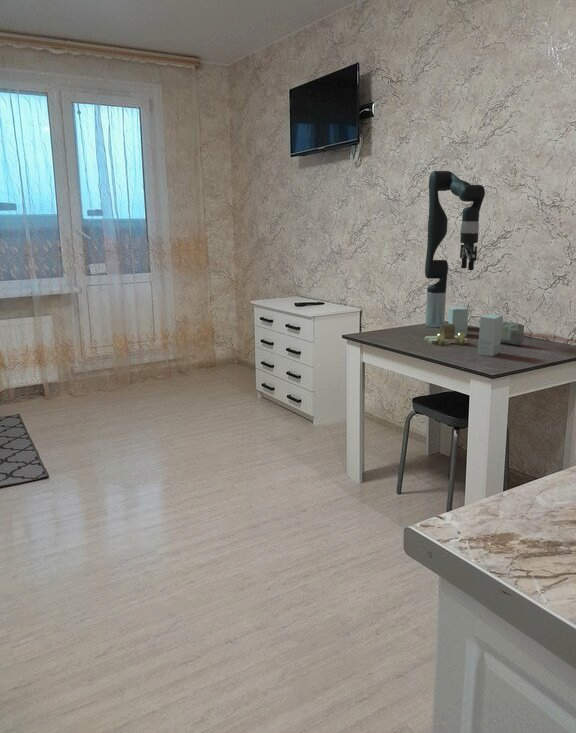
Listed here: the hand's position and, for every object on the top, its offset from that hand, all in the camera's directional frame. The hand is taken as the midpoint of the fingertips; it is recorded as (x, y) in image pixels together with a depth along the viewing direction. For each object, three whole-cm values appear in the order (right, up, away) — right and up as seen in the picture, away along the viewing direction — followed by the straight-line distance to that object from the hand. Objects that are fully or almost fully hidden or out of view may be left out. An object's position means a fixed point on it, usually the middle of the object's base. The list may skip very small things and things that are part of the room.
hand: (467, 269), depth 267 cm
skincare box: (+1, -39, -26) cm, 47 cm away
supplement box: (0, -29, +14) cm, 32 cm away
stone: (+15, -34, -9) cm, 39 cm away
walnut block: (-10, -31, -2) cm, 32 cm away
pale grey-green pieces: (-10, -33, -1) cm, 35 cm away
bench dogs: (-10, -34, -8) cm, 36 cm away
